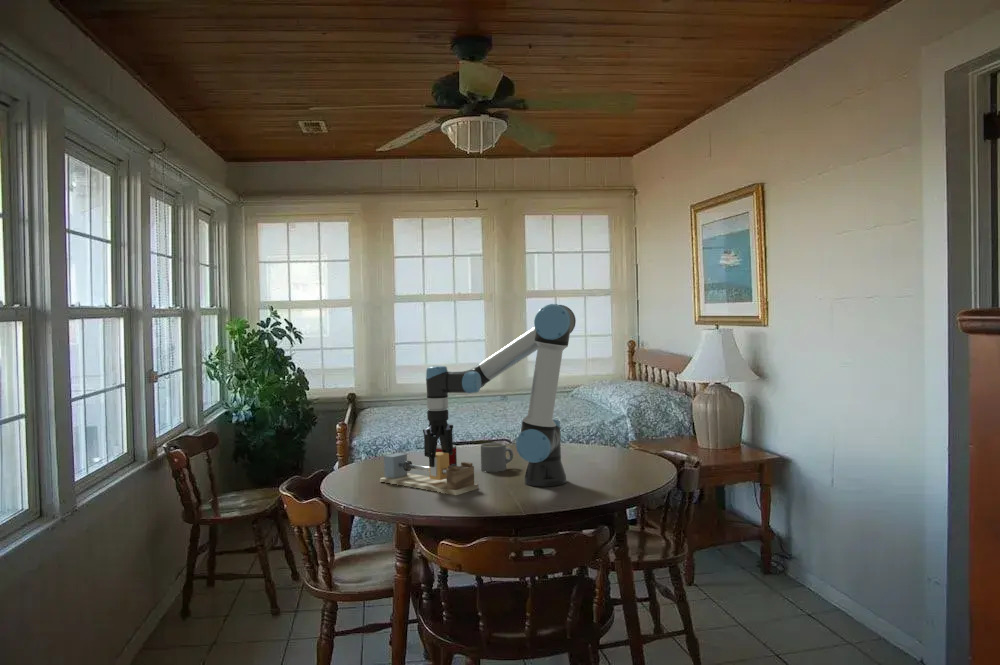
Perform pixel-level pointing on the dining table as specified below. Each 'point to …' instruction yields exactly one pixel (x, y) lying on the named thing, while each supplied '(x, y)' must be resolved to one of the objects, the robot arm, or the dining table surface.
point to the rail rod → (416, 467)
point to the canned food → (451, 457)
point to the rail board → (455, 484)
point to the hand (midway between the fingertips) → (439, 474)
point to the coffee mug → (494, 457)
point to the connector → (394, 465)
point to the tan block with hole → (441, 465)
